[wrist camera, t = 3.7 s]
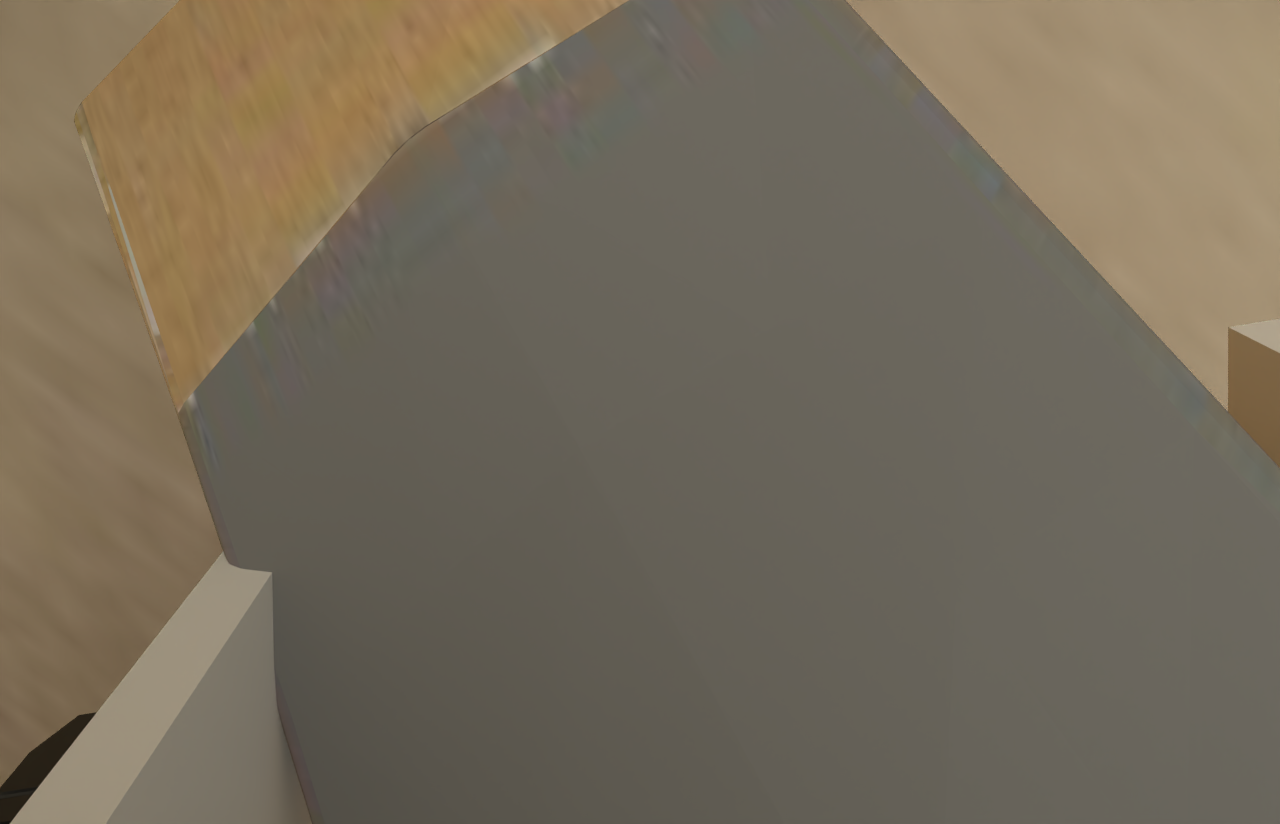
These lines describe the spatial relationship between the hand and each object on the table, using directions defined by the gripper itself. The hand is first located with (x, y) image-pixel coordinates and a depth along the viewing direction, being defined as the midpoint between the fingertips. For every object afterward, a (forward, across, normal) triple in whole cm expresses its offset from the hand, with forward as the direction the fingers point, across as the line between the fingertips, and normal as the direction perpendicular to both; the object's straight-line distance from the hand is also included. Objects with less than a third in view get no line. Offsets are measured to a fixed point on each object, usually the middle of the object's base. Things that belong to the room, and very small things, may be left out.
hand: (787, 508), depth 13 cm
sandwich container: (+3, -1, +1) cm, 4 cm away
